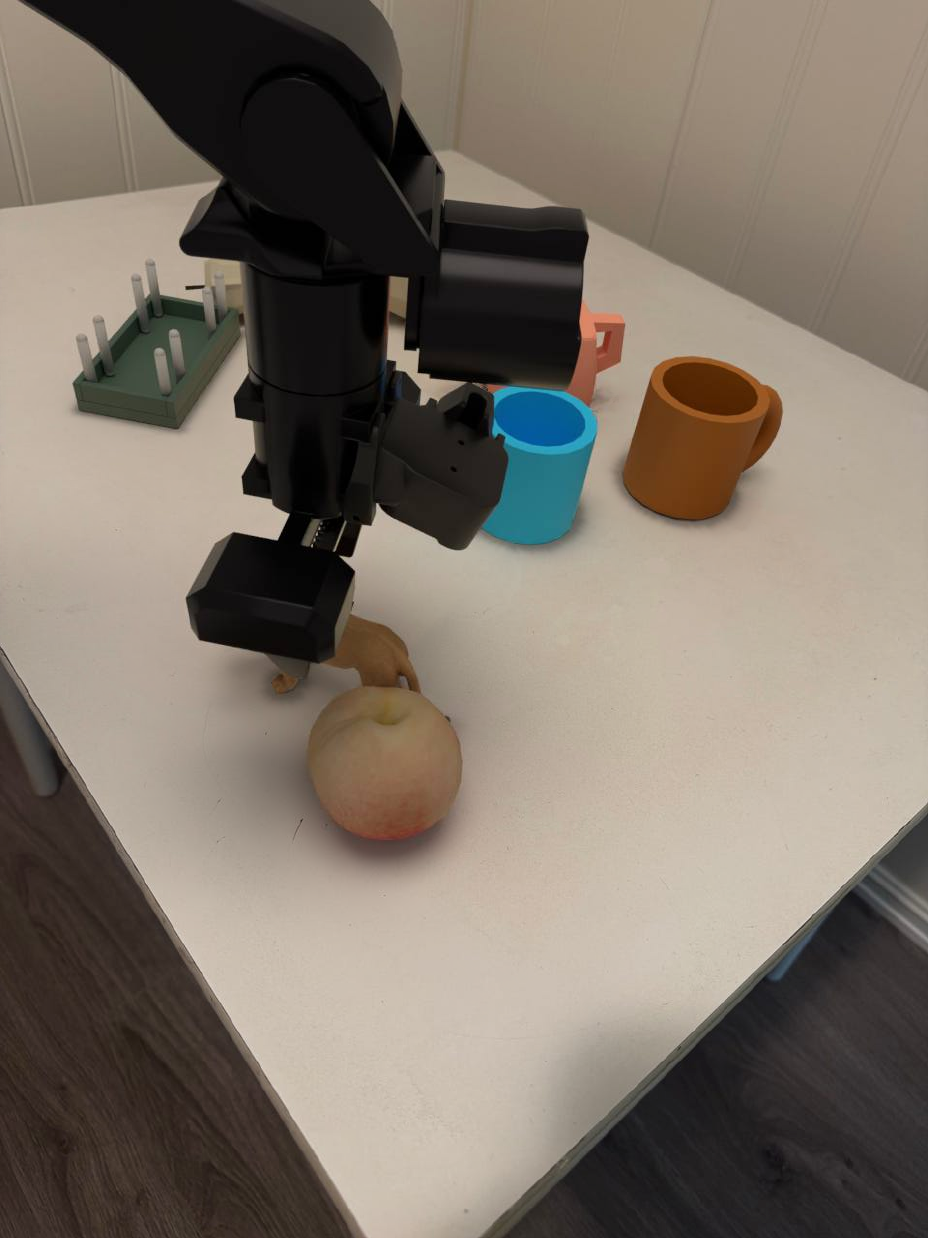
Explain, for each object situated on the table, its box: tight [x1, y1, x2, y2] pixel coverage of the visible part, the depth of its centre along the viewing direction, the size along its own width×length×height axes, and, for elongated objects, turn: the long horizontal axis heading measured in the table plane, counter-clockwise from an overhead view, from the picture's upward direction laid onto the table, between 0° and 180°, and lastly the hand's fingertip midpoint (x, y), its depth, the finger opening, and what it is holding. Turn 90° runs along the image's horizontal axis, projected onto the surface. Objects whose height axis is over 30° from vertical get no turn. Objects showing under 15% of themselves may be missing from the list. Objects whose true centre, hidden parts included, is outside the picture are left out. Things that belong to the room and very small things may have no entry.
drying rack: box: [72, 258, 241, 429], centre depth 72 cm, size 8×15×6 cm, turn 171°
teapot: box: [485, 298, 626, 408], centre depth 73 cm, size 12×12×10 cm
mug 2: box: [621, 355, 784, 520], centre depth 68 cm, size 9×12×9 cm
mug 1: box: [481, 387, 598, 546], centre depth 63 cm, size 12×8×8 cm
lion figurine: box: [272, 613, 451, 723], centre depth 50 cm, size 15×5×9 cm, turn 73°
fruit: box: [306, 686, 464, 841], centre depth 46 cm, size 8×8×8 cm
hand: (322, 611), depth 48 cm, fingers open, 9 cm apart
